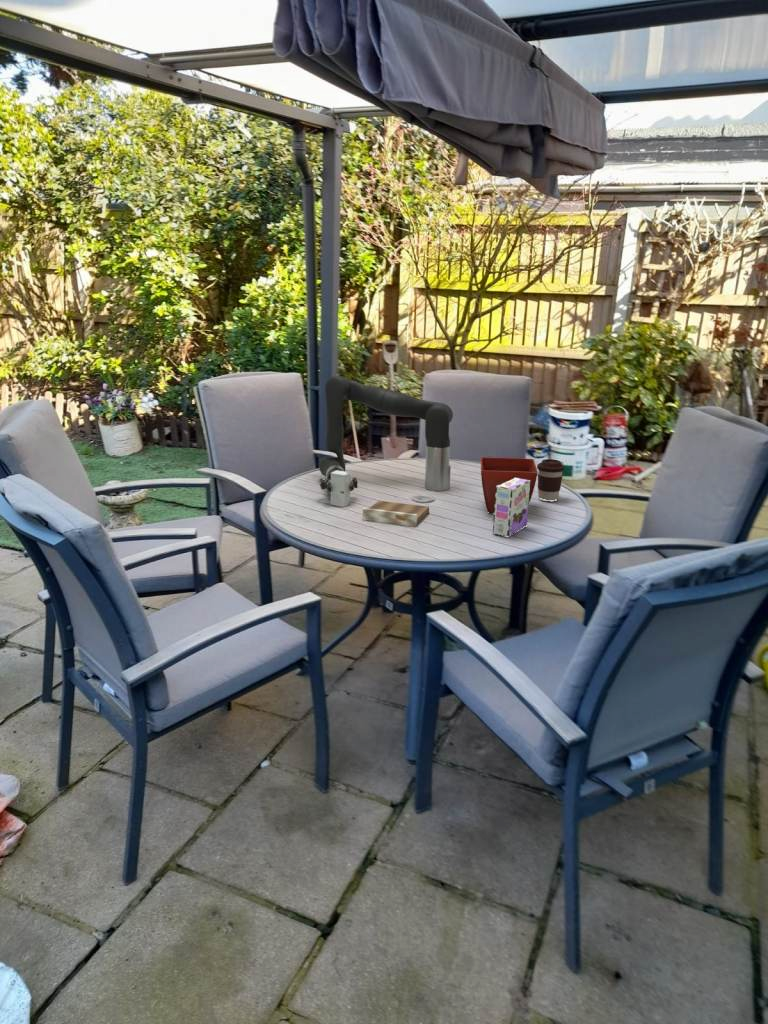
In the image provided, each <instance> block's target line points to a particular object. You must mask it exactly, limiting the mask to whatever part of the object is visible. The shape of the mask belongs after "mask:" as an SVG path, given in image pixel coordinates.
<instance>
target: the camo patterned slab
mask: <svg viewBox="0 0 768 1024" xmlns="http://www.w3.org/2000/svg"><path fill="white" fill-rule="evenodd" d="M429 514H430V506H426V505H419V504H410V503H402V502H393V501H385V500H384V501H383V500H377V501H376V502H375V503H374V504H372V505H371V506H370V507H363V508H362V520H363V521H367V520H369V521H368V522H375V523H381V524H383V523H384V524H391V525H399V526H405V527H413V526H414V527H417V526H418V525H419V524H420V523H422V522H423V520H424V519H425V518H426V517H427V516H428V515H429Z"/></svg>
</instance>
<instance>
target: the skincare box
mask: <svg viewBox="0 0 768 1024" xmlns="http://www.w3.org/2000/svg"><path fill="white" fill-rule="evenodd" d="M350 480H351V472H348V471H345V472H344V471H337V470H336V471H334V472H332V473H331V492H330V505H331V506H332V505H333V506H336V507H342V508H344V507H347V506H348V505H349V506H350V501H351V499H350V497H351V493H350V492H351V491H350Z"/></svg>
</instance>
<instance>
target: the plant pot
mask: <svg viewBox="0 0 768 1024" xmlns="http://www.w3.org/2000/svg"><path fill="white" fill-rule="evenodd" d="M536 465H537V464H536V461H535V459H534V458H524V457H523V458H521V457H520V458H517V457H490V456H489V457H488V456H482V457H480V476H481V485H482V492H483V498H484V503H485V506H486V510H487V513H488V512H489V513H488V514H490V513H494V508H495V493H496V486H498V485H500V484H503V483H505V482H507V481H510V480H512V479H514V478H520V479H525V480H530V492H529V504H530V503H531V500H532V496H533V493H534V490H535V487H536V482H537V479H538V473H539V470H538V469H537V466H536Z"/></svg>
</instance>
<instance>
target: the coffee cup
mask: <svg viewBox="0 0 768 1024" xmlns="http://www.w3.org/2000/svg"><path fill="white" fill-rule="evenodd" d="M536 465H537V466H536V468H537V471H538V473H537V494H538V495H537V496H538V497H539V498H542V499H546V500H555V499H558V500H559V494H560V490H561V487H562V482H563V472H564V471H565V465H564V464H562V462H561V461H560V460H558V459H554V458H553V459H551V458H547V459H546V458H545V459H542V460H541V462H539V463H538V464H536Z"/></svg>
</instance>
